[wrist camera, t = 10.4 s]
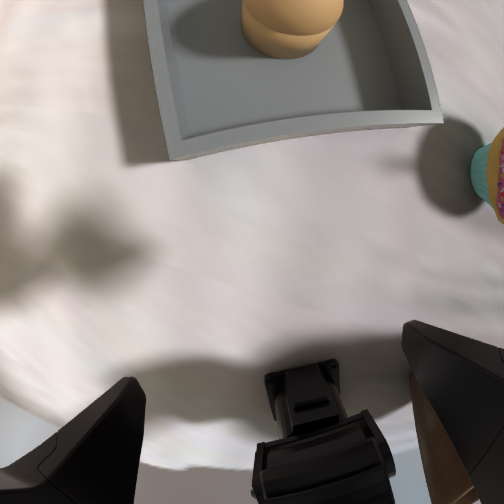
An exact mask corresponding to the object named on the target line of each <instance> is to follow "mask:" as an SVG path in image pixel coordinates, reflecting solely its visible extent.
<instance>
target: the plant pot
mask: <svg viewBox="0 0 504 504" xmlns="http://www.w3.org/2000/svg"><path fill="white" fill-rule="evenodd" d="M410 386H411V396H412V405H413V412H414V419H415V426H416V432H417V438H418V443H419V449H420V454H421V459H422V464H423V469H424V473H425V478H426V483H427V487H428V491H429V495H430V499H431V503H432V504H473V503H474V502H476V501H478V500H479V497H478V495H477V493H476V490H475V488H474V486H473V484H472V482H471V480H470V478H469V474H468V473H467V471H466V469H465V467H464V465H463V463H462V461H461V459H460V457H459V455H458V453H457V451H456V449H455V447H454V445H453V443H452V442H451V440H450V438H449V436H448V434H447V432H446V430H445V429H444V427H443V425H442V423H441V421H440V420H439V418H438V416H437V414H436V413H435V411H434V409H433V407H432V406H431V404H430V402H429V400H428V399H427V397H426V395H425V394H424V392H423V390H422V389H421V387H420V385H419V383H418V381H417V379H416V377H415V375H414V373H412V375H411V379H410Z"/></svg>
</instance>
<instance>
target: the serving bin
mask: <svg viewBox="0 0 504 504" xmlns="http://www.w3.org/2000/svg"><path fill="white" fill-rule="evenodd" d="M143 3H144V12H145V20H146V28H147V36H148V43H149V50H150V57H151V64H152V70H153V76H154V82H155V88H156V94H157V99H158V105H159V110H160V115H161V121H162V126H163V131H164V136H165V141H166V145H167V150H168V155H169V160H189V159H193V158H197V157H201V156H205V155H209V154H214V153H218V152H223V151H227V150H232V149H237V148H242V147H247V146H252V145H257V144H263V143H268V142H274V141H280V140H286V139H293V138H299V137H306V136H314V135H321V134H330V133H338V132H348V131H359V130H371V129H386V128H406V127H415V126H423V125H432V124H441V123H444V122H443V116H442V111H441V106H440V101H439V97H438V92H437V88H436V84H435V80H434V76H433V73H432V69H431V66H430V62H429V59H428V56H427V52H426V49H425V46H424V43H423V40H422V37H421V35H420V32H419V29H418V26H417V24H416V21H415V19H414V16H413V14H412V11H411V9H410V7H409V4H408V2H407V0H344V3H343V10H342V13H341V16H340V18H339V19H338V21H337V22H336V24H335V25H334V26H333V27H332V29H331V30H330V31H329V32H328V34H327V35H326V36H325V38H324V39H323V40H322V41H321V43H320V44H319V45H318V47H317V48H316V49H315V50H314V51H313V52H311V53H310V54H308V55H306V56H304V57H301V58H297V59H287V60H286V59H277V58H273V57H269V56H267V55H264V54H262V53H260V52H259V51H257V50H256V49H254V48H253V47H252V46H251V45H250V44H249V43H248V42H247V40H246V39H245V37H244V35H243V32H242V28H241V20H242V0H143Z"/></svg>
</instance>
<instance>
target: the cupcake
mask: <svg viewBox="0 0 504 504" xmlns="http://www.w3.org/2000/svg"><path fill="white" fill-rule="evenodd" d="M470 174H471V181H472V185H473V188H474V190H475V192H476V193H477V195H478V196H479V197H480V198H482V199H483V200H485V201H486V202H487V203H488V204H489V205H490V206H491V207H492V208H493V209H494V210H495V213H496V215H497V218H498V220H499V221H500V222H501V223H503V224H504V128H503V129H502V130H501V131H500V132H499V133H498V135H497V136H496V137H495V139H494V140H493V142H492V143H490V144H489V145H486V146H484V147H481V148H479V149H478V150H477V151H476V152H475V154H474V156H473V158H472V162H471V169H470Z"/></svg>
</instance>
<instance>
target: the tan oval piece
mask: <svg viewBox="0 0 504 504" xmlns="http://www.w3.org/2000/svg"><path fill="white" fill-rule="evenodd" d="M343 3H344V0H242V20H241V28H242V32H243V35H244V37H245V39H246V40H247V42H248V43H249V44H250V45H251V46H252V47H253V48H254V49H256V50H257V51H259V52H260V53H262V54H264V55H267V56H269V57H273V58H277V59H286V60H287V59H297V58H301V57H304V56H306V55H308V54H310V53H311V52H313V51H314V50H315V49H316V48H317V47H318V45H319V44H320V43H321V41H322V40H323V39H324V38H325V36H326V35H327V34H328V32H329V31H330V30H331V29H332V27H333V26H334V25H335V24H336V22H337V21H338V19H339V18H340V16H341V13H342V10H343Z"/></svg>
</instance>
